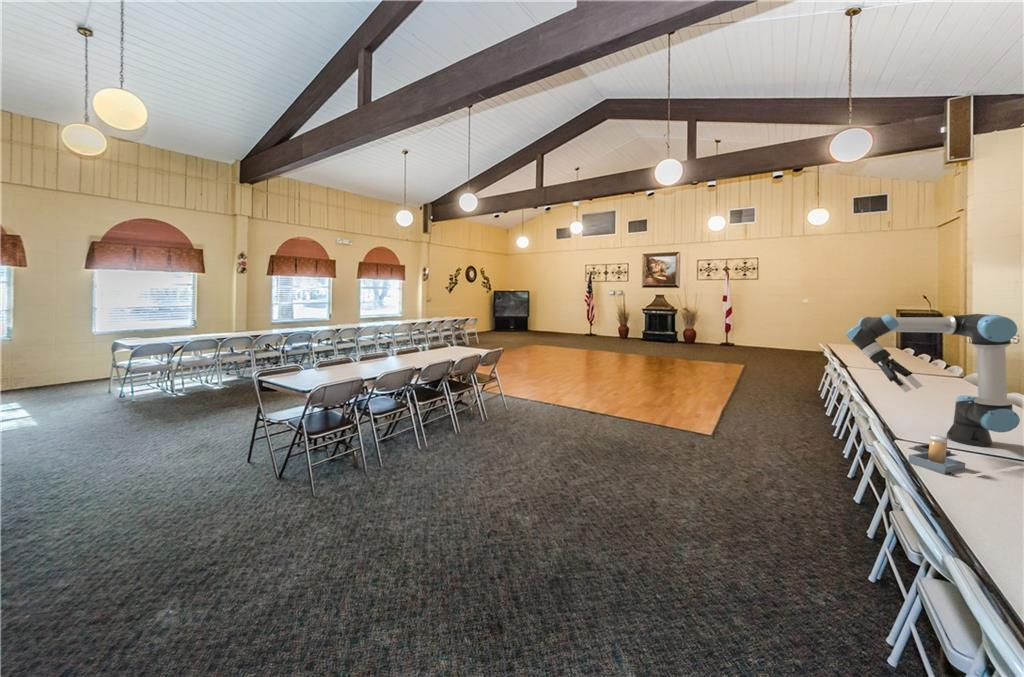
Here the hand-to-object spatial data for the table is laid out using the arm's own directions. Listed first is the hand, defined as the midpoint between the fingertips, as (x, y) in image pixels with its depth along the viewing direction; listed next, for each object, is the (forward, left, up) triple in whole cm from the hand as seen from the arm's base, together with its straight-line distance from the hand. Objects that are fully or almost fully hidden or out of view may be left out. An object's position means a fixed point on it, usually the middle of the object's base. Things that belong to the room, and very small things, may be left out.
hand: (914, 389), depth 187 cm
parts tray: (+10, +16, -30) cm, 35 cm away
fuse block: (-6, +6, -30) cm, 31 cm away
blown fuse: (+10, +16, -29) cm, 34 cm away
